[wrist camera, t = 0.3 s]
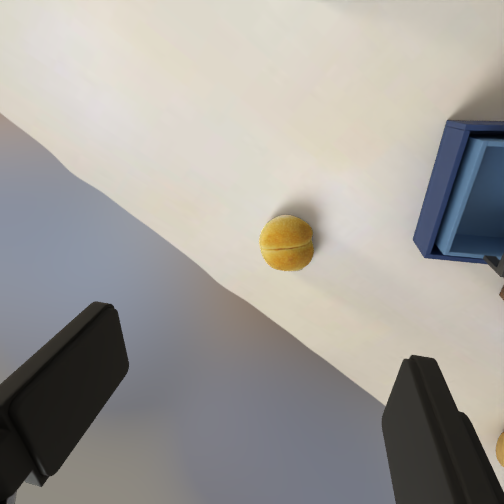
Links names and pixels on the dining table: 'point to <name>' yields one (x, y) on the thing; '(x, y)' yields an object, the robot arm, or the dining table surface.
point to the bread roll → (287, 243)
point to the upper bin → (477, 204)
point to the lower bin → (447, 184)
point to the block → (502, 293)
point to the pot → (500, 449)
